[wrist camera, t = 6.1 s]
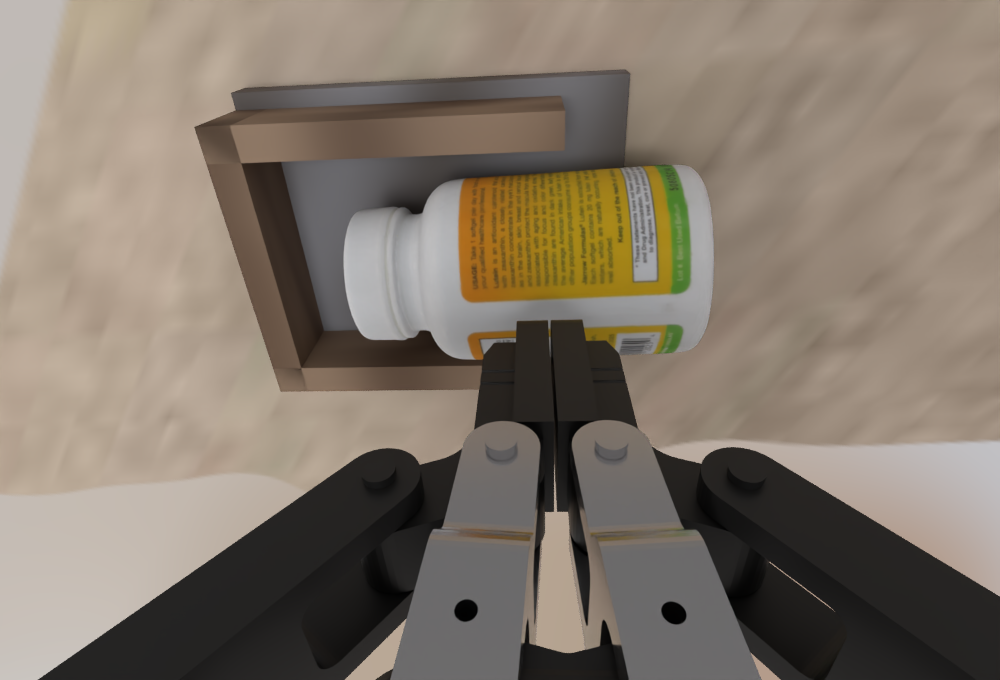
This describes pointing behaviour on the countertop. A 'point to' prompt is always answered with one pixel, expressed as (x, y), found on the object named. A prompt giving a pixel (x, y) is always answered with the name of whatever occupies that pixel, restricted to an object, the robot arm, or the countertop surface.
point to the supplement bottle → (539, 260)
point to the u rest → (381, 196)
